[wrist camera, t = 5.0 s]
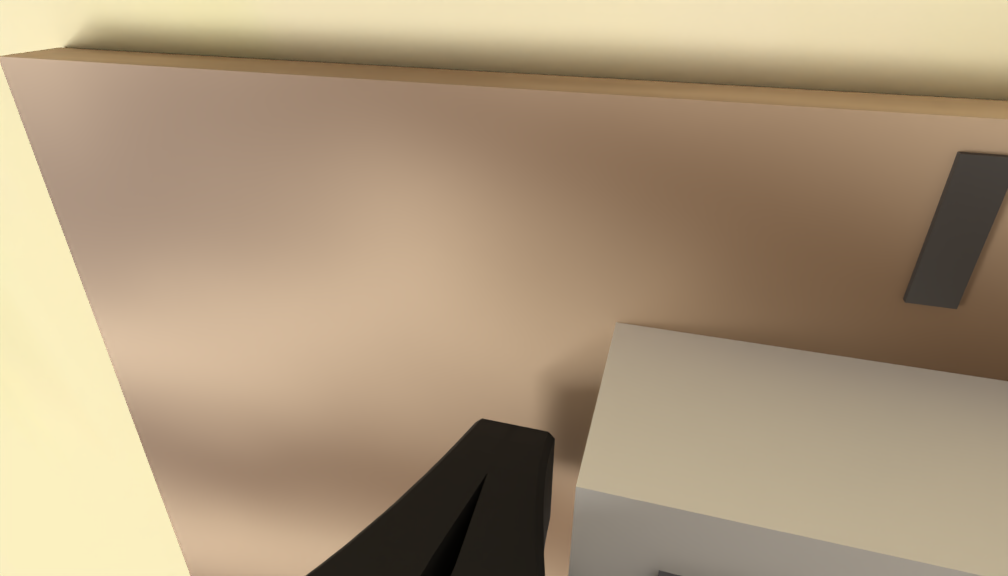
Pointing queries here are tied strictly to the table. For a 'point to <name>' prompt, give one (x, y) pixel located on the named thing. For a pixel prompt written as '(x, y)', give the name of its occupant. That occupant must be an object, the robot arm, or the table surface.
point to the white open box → (787, 465)
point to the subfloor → (477, 260)
